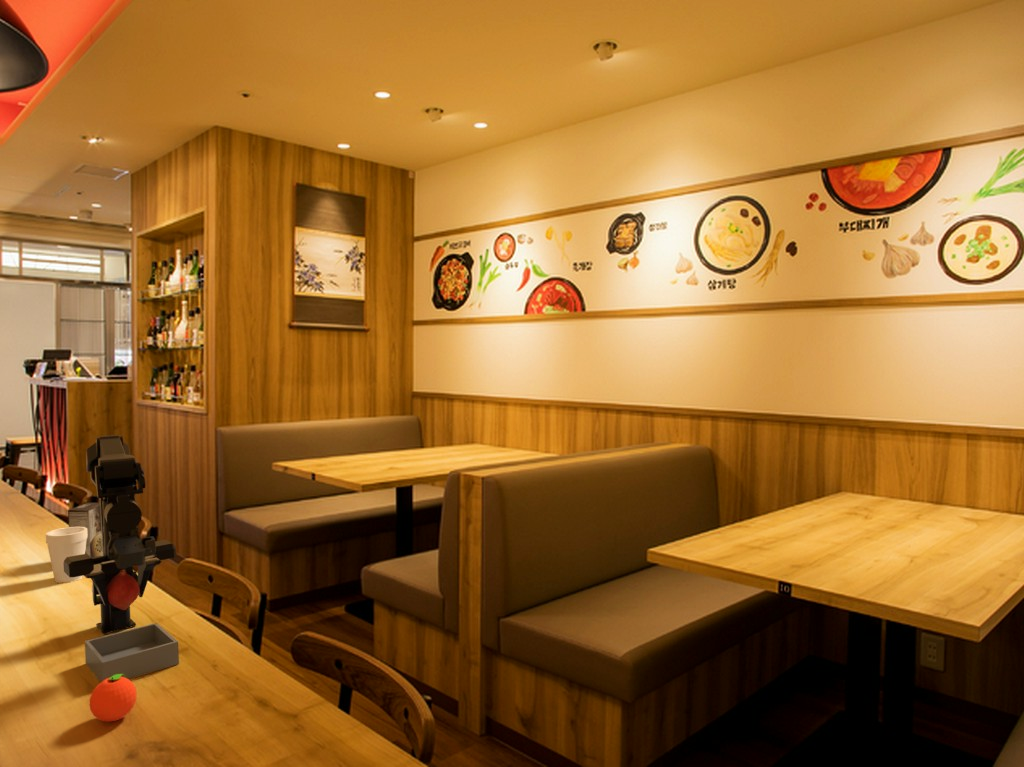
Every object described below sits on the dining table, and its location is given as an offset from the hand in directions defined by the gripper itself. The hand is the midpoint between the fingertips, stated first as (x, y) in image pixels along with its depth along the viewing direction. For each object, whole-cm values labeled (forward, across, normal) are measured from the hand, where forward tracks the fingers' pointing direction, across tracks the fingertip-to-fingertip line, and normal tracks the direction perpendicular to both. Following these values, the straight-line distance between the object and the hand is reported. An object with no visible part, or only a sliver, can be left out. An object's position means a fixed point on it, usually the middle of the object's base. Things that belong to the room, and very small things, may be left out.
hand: (123, 600), depth 140 cm
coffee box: (+11, +11, +81) cm, 83 cm away
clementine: (+13, -7, -22) cm, 26 cm away
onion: (+2, 0, 0) cm, 2 cm away
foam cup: (+11, +3, +67) cm, 68 cm away
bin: (+12, +1, -1) cm, 13 cm away
